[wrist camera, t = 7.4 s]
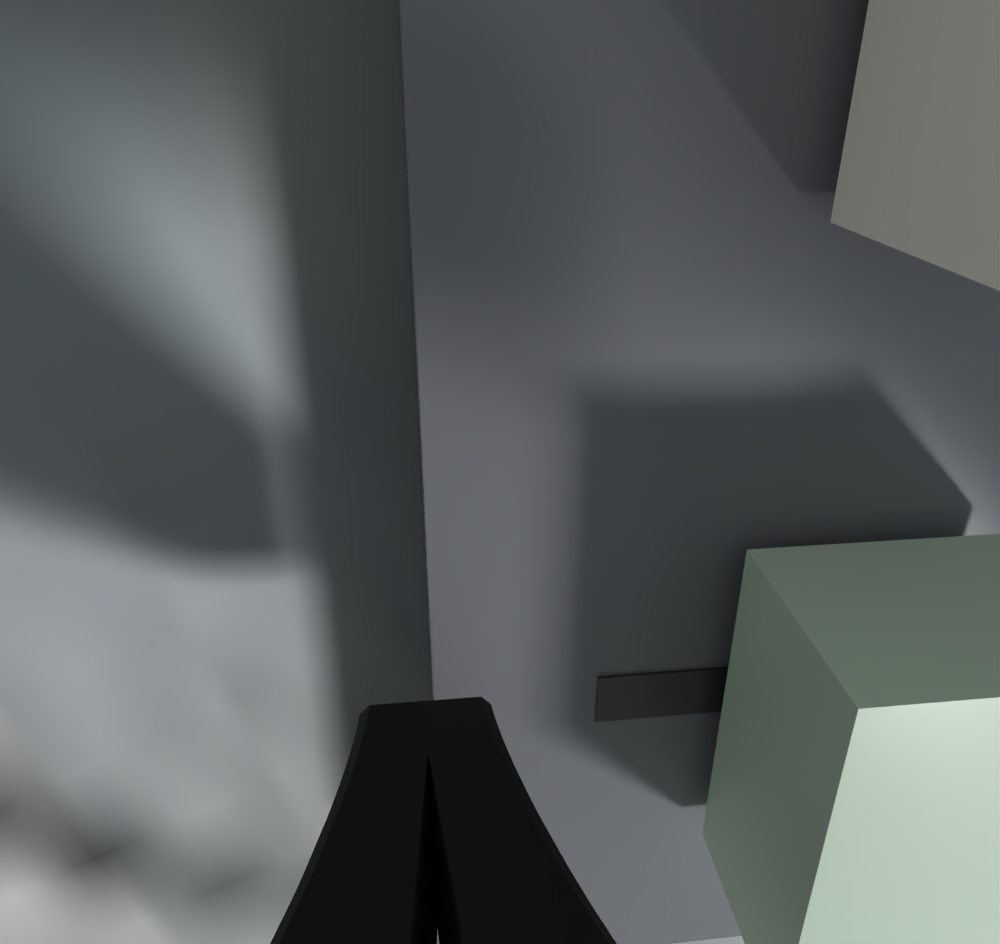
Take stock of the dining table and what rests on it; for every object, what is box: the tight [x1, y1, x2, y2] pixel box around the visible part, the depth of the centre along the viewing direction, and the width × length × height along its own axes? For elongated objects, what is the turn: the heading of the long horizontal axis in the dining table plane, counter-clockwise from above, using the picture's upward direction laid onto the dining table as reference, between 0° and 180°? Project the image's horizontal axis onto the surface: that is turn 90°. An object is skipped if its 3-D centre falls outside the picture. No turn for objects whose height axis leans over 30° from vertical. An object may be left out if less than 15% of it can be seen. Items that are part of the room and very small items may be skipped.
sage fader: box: [702, 534, 1000, 944], centre depth 9 cm, size 3×4×2 cm, turn 0°
